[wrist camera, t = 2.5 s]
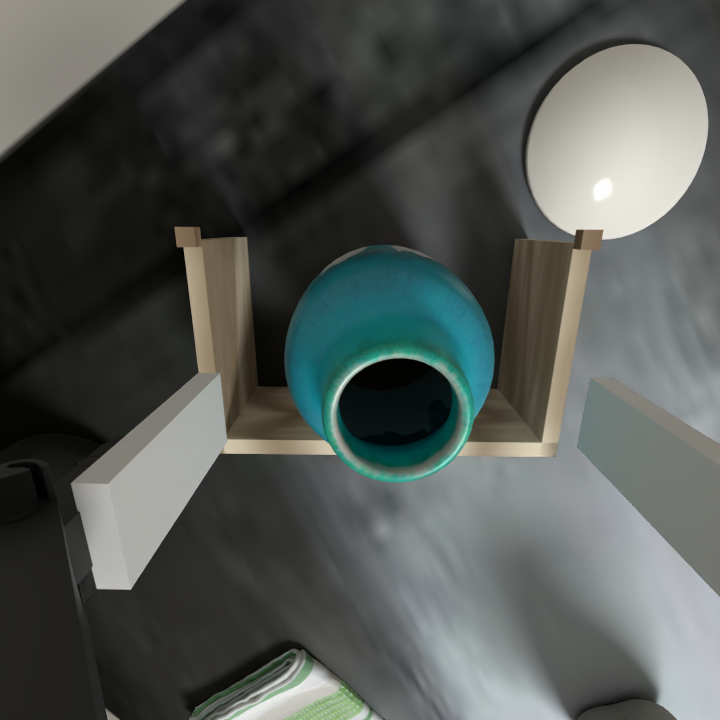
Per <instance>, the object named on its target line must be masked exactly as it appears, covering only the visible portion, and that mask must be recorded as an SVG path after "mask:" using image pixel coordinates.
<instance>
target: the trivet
mask: <svg viewBox="0 0 720 720" xmlns="http://www.w3.org/2000/svg"><path fill="white" fill-rule="evenodd" d="M707 134H708V113H707V106H706V101H705V97H704V94H703V91H702V89H701V86H700V84H699V82H698V81H697V79H696V77H695V75H694V74H693V73H692V71H691V70H690V69H689V67H688V66H687V65H686V64H684V63H683V62H682V61H681V60H680V59H679V58H677V57H676V56H674V55H673V54H671V53H670V52H668V51H665V50H663V49H661V48H658V47H654V46H650V45H642V44H628V45H620V46H616V47H611V48H608V49H606V50H603V51H600V52H598V53H596V54H594V55H592V56H590V57H588V58H586V59H585V60H583V61H582V62H581V63H579V64H578V65H576V66H575V67H574V68H572V69H571V70H570V71H569V72H568V73H566V74H565V75H564V76H563V77H562V78H561V79H560V80H559V81H558V82H557V83H556V84H555V85H554V87H553V88H552V89H551V90H550V92H549V93H548V94H547V96H546V97H545V99H544V100H543V102H542V103H541V105H540V107H539V109H538V111H537V112H536V115H535V117H534V120H533V122H532V124H531V128H530V131H529V134H528V138H527V144H526V150H525V172H526V178H527V184H528V187H529V190H530V193H531V196H532V198H533V200H534V202H535V204H536V206H537V207H538V209H539V210H540V212H541V213H542V214H543V215H544V217H545V218H546V219H547V220H548V221H549V222H550V223H552V224H553V225H554V226H555V227H557V228H558V229H560V230H562V231H564V232H565V233H568V234H570V235H573V236H575V234H576V230H603V236H602V240H603V239H614V238H619V237H624V236H627V235H630V234H633V233H635V232H637V231H639V230H642V229H644V228H646V227H647V226H649V225H651V224H652V223H654V222H655V221H657V220H658V219H659V218H661V217H662V216H663V215H665V214H666V213H667V212H668V211H669V210H670V209H671V208H672V207H673V206H674V205H675V204H676V203H677V201H678V200H679V199H680V198H681V197H682V196H683V194H684V193H685V191H686V190H687V188H688V187H689V186H690V184H691V182H692V180H693V178H694V177H695V175H696V173H697V170H698V168H699V166H700V163H701V161H702V157H703V154H704V151H705V146H706V141H707Z"/></svg>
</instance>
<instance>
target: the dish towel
mask: <svg viewBox="0 0 720 720" xmlns="http://www.w3.org/2000/svg"><path fill="white" fill-rule="evenodd" d="M192 715H193V716H192V717H190V718H189V720H384V719H383V718H382V717H381V716H379V715H378V714H377V713H376V712H375V711H374V710H373V709H371V708H370V707H369V706H368V705H367V703H366V702H365V701H364V700H363V699H362V698H361V697H360V696H359V695H358V694H357V693H356V692H354V690H353V689H351V688H350V687H349V686H348V685H347V684H346V683H345V682H344V681H343V680H342V679H340V678H339V677H337V676H336V675H335V674H333V673H332V672H331V671H329V670H328V669H327V668H326V667H325V666H324V665H322V664H321V663H320V662H318V661H317V660H315V659H313V658H312V657H311V656H310V655H309V654H308V653H307V652H306V651H305V650H300V651H299V650H297V649H291V650H290V651H288V652H286V653H284V654H283V655H281V656H279V657H278V658H276V659H274V660H272V661H271V662H269V663H268V664H266V665H265V666H263V667H262V668H260V669H259V670H257V671H255V672H254V673H252V674H250V675H248V676H247V677H245V679H243V680H241V681H239V682H237V683H235V684H233V685H232V686H230V687H229V688H227V689H226V690H224V691H222V692H219V693H216V694H215V695H213V696H212V697H211V698H210V699H208V700H207V701H205V702H203V703H202V704H201V705H199V706H197V707H195V710H194V711H193V713H192Z"/></svg>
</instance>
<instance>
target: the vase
mask: <svg viewBox="0 0 720 720" xmlns="http://www.w3.org/2000/svg"><path fill="white" fill-rule="evenodd" d="M284 363H285V375H286V380H287V384H288V388H289V392H290V394H291V397H292V399H293V401H294V404H295V406H296V408H297V409H298V411H299V413H300V414H301V416H302V417H303V419H304V420H305V421H306V423H307V424H308V425H309V426H310V427H311V428H312V430H313V431H314V432H316V433H317V434H318V435H319V436H320V437H321V438H323V439H324V440H325V441H326V442H327V443H329V444H330V446H331V447H332V449H333V451H334V452H335V453H336V454H337V456H338V457H339V458H340V459H341V460H342V461H343V462H344V463H345V464H347V465H348V466H349V467H350V468H352V469H353V470H355V471H356V472H358V473H360V474H362V475H364V476H366V477H369V478H372V479H376V480H379V481H385V482H408V481H414V480H418V479H421V478H425V477H427V476H429V475H432V474H434V473H436V472H437V471H439V470H441V469H442V468H444V467H445V466H446V465H448V464H449V463H450V462H451V461H452V460H453V459H454V458H455V457H456V456H457V455H458V454H459V453H460V451H461V450H462V448H463V447H464V445H465V444H466V442H467V440H468V437H469V435H470V433H471V430H472V426H473V422H474V419H475V417H476V416H477V414H478V413H479V411H480V409H481V408H482V406H483V404H484V402H485V400H486V397H487V395H488V393H489V390H490V386H491V383H492V379H493V373H494V363H495V357H494V342H493V338H492V334H491V330H490V326H489V324H488V322H487V319H486V317H485V315H484V312H483V310H482V308H481V306H480V305H479V303H478V302H477V300H476V299H475V297H474V295H473V294H472V292H471V291H470V290H469V288H468V287H467V286H466V285H465V284H464V283H463V282H462V281H461V280H460V279H459V278H458V277H457V276H456V275H455V274H454V273H453V272H452V271H450V270H449V269H448V268H446V267H445V266H444V265H442V264H441V263H440V262H438V261H436V260H435V259H433V258H431V257H429V256H427V255H425V254H423V253H421V252H419V251H416V250H413V249H410V248H406V247H401V246H395V245H373V246H367V247H362V248H359V249H356V250H354V251H351V252H348V253H347V254H345V255H343V256H341V257H339V258H337V259H336V260H334V261H333V262H332V263H331V264H329V265H328V266H327V267H325V268H324V269H323V270H322V271H321V272H320V273H319V275H318V276H317V277H316V278H315V279H314V280H313V281H312V282H311V284H310V285H309V286H308V288H307V289H306V291H305V292H304V294H303V295H302V297H301V299H300V300H299V302H298V305H297V307H296V309H295V311H294V313H293V316H292V318H291V321H290V325H289V329H288V332H287V337H286V344H285V354H284Z"/></svg>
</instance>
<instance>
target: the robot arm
mask: <svg viewBox="0 0 720 720" xmlns="http://www.w3.org/2000/svg"><path fill="white" fill-rule="evenodd" d="M226 443H227V435H226V425H225V416H224V406H223V396H222V387H221V377H220V373H198V374H197V375H196V376H194V377H193V378H192V379H191V380H190V381H189V382H187V383H186V384H185V385H184V386H183V387H182V388H180V389H179V390H178V391H177V392H176V393H175V394H174V395H172V396H171V397H170V398H169V399H168V400H167V401H165V402H164V403H163V404H162V405H161V406H160V407H158V408H157V409H156V410H155V411H154V412H153V413H152V414H150V415H149V416H148V417H147V418H146V419H145V420H143V421H142V422H141V423H140V424H139V425H138V426H136V427H135V428H134V429H133V430H132V431H131V432H130V433H128V434H127V435H126V436H119V437H117V438H115V439H113V440H111V441H109V442H107V443H105V444H103V445H101V444H99V443H97V442H95V441H92V440H89V439H86V438H83V437H80V436H75V435H70V434H62V433H46V434H38V435H33V436H30V437H27V438H24V439H21V440H19V441H17V442H15V443H14V444H12V445H10V446H9V447H7V448H6V449H4V450H2V451H1V452H0V720H107V715H106V710H105V705H104V700H103V695H102V690H101V685H100V680H99V675H98V670H97V665H96V660H95V655H94V650H93V646H92V641H91V636H90V631H89V626H88V621H87V616H86V611H85V606H84V603H85V602H86V601H88V600H89V599H90V598H91V597H93V596H94V595H95V594H96V593H97V592H98V591H100V590H101V589H128V590H131V588H132V587H133V585H134V584H135V582H136V581H137V579H138V577H139V576H140V574H141V573H142V571H143V570H144V568H145V567H146V565H147V564H148V562H149V561H150V559H151V558H152V556H153V555H154V553H155V551H156V550H157V548H158V547H159V545H160V544H161V542H162V541H163V539H164V538H165V536H166V535H167V533H168V532H169V530H170V529H171V527H172V525H173V524H174V522H175V521H176V519H177V518H178V516H179V515H180V513H181V512H182V510H183V509H184V507H185V506H186V504H187V502H188V501H189V499H190V498H191V496H192V495H193V493H194V492H195V490H196V489H197V487H198V486H199V484H200V483H201V481H202V480H203V478H204V476H205V475H206V473H207V472H208V470H209V469H210V467H211V466H212V464H213V463H214V461H215V460H216V458H217V457H218V455H219V453H220V452H221V450H222V449H223V447H224V446H225V444H226ZM577 448H578V449H579V450H580V451H581V452H582V453H583V454H584V455H585V456H586V457H587V458H588V459H589V460H590V461H591V462H592V463H593V464H594V465H595V466H596V467H597V469H598V470H599V471H600V472H601V473H602V474H603V475H604V476H605V477H606V478H607V479H608V480H609V481H610V482H611V483H612V484H613V485H614V486H615V487H616V488H617V489H618V491H619V492H620V493H621V494H622V495H623V496H624V497H625V498H626V499H627V500H628V501H629V502H630V503H631V504H632V505H633V506H634V507H635V508H636V509H637V510H638V512H639V513H640V514H641V515H642V516H643V517H644V518H645V519H646V520H647V521H648V522H649V523H650V524H651V525H652V526H653V527H654V528H655V529H656V530H657V531H658V532H659V534H660V535H661V536H662V537H663V538H664V539H665V540H666V541H667V542H668V543H669V544H670V545H671V546H672V547H673V548H674V549H675V550H676V551H677V552H678V553H679V554H680V556H681V557H682V558H683V559H684V560H685V561H686V562H687V563H688V564H689V565H690V566H691V567H692V568H693V569H694V570H695V571H696V572H697V573H698V574H699V575H700V577H701V578H702V579H703V580H704V581H705V582H706V583H707V584H708V585H709V586H710V587H711V588H712V589H713V590H714V591H715V592H716V593H717V594H718V595H719V596H720V444H718V443H717V442H715V441H714V440H712V439H710V438H709V437H707V436H705V435H704V434H702V433H701V432H699V431H697V430H696V429H694V428H692V427H691V426H689V425H688V424H686V423H684V422H683V421H681V420H680V419H678V418H676V417H675V416H673V415H671V414H670V413H668V412H667V411H665V410H663V409H662V408H660V407H658V406H657V405H655V404H654V403H652V402H650V401H649V400H647V399H645V398H644V397H642V396H641V395H639V394H637V393H636V392H634V391H632V390H631V389H629V388H628V387H626V386H624V385H623V384H621V383H619V382H618V381H616V380H615V379H613V378H590V382H589V387H588V392H587V398H586V403H585V408H584V413H583V418H582V423H581V429H580V434H579V439H578V444H577Z"/></svg>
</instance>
